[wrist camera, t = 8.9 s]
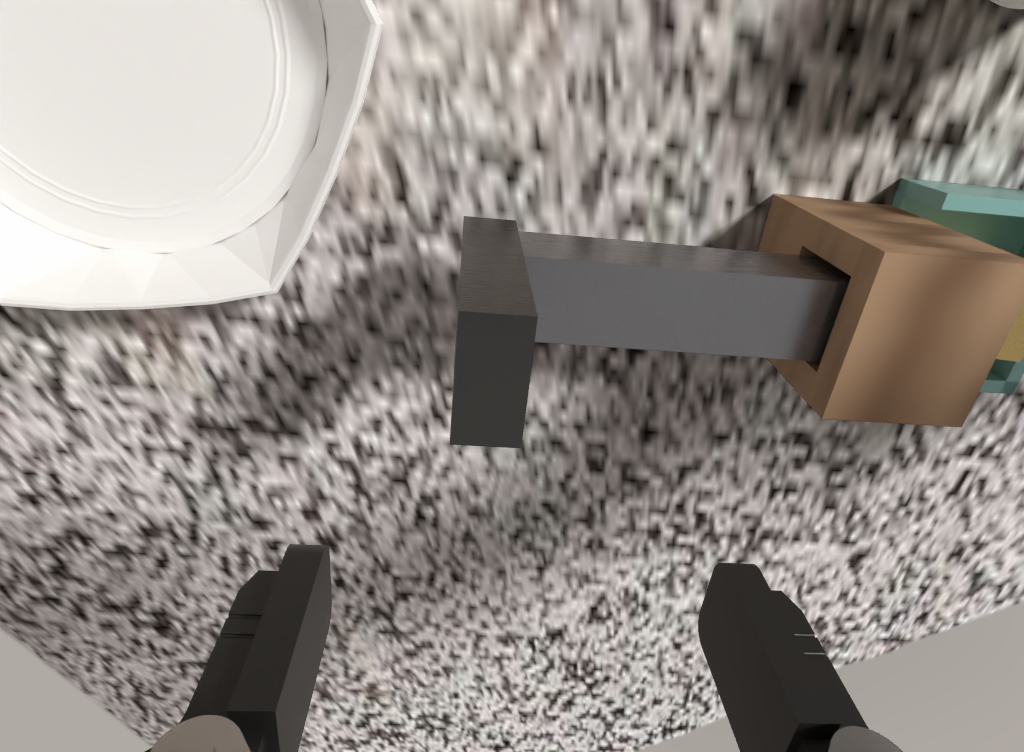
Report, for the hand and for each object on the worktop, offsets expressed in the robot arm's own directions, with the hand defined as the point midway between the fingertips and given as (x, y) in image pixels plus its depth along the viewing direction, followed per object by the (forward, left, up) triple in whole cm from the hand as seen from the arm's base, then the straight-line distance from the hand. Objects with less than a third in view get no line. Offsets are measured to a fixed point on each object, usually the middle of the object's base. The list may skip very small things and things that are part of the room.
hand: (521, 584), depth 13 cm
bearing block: (-19, 0, -26) cm, 32 cm away
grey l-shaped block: (-9, 0, -21) cm, 23 cm away
